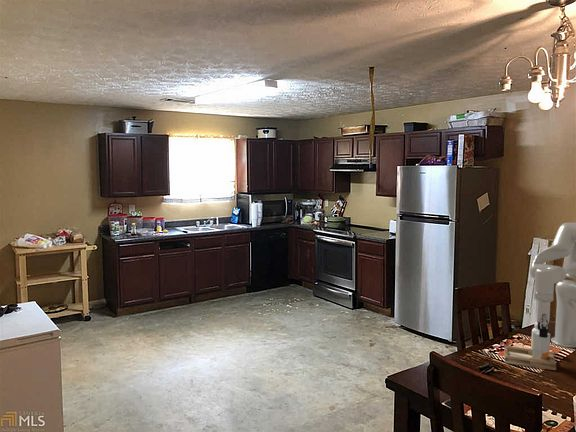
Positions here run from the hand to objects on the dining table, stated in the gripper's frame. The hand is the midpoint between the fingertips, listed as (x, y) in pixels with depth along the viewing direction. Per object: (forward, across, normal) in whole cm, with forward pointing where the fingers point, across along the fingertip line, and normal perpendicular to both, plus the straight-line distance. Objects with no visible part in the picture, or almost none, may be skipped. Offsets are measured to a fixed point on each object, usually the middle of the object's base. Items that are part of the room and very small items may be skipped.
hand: (542, 333), depth 217 cm
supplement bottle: (+14, -14, 0) cm, 19 cm away
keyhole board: (+13, +1, -5) cm, 14 cm away
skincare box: (+12, +1, 0) cm, 12 cm away
